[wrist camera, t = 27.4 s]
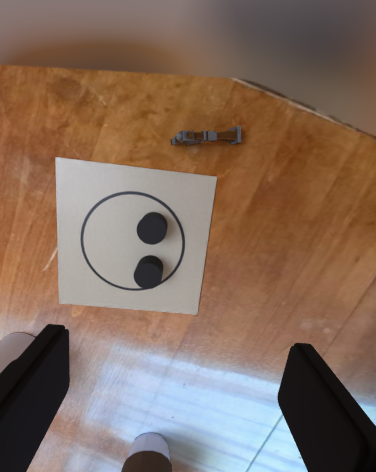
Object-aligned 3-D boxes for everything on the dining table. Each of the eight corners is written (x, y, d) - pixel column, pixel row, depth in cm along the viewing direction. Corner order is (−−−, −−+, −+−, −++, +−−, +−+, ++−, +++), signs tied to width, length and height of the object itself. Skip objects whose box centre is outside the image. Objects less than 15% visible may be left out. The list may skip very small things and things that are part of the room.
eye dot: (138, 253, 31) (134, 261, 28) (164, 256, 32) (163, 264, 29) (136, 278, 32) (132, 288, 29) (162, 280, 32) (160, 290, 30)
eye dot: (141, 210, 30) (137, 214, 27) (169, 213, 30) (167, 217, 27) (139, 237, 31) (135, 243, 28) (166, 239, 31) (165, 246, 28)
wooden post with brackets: (162, 134, 27) (178, 125, 23) (219, 133, 30) (241, 125, 26) (164, 150, 27) (180, 144, 24) (220, 147, 31) (242, 141, 27)
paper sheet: (56, 157, 28) (55, 157, 28) (216, 176, 29) (217, 176, 29) (59, 302, 33) (58, 303, 33) (197, 313, 34) (197, 314, 34)
